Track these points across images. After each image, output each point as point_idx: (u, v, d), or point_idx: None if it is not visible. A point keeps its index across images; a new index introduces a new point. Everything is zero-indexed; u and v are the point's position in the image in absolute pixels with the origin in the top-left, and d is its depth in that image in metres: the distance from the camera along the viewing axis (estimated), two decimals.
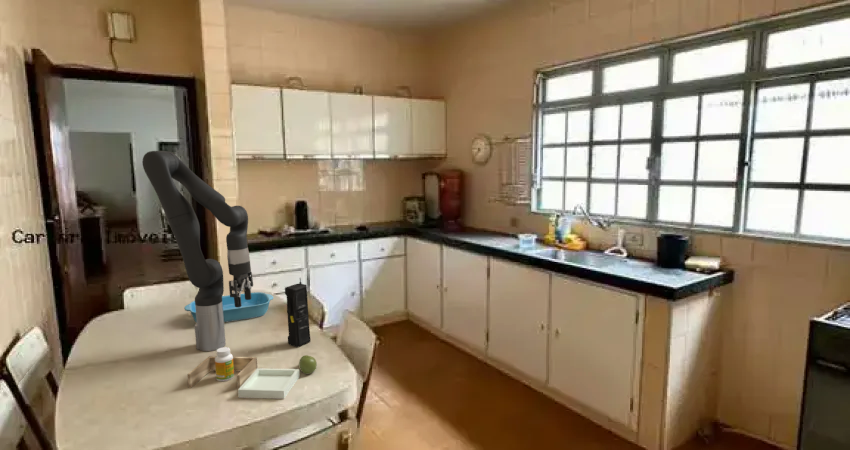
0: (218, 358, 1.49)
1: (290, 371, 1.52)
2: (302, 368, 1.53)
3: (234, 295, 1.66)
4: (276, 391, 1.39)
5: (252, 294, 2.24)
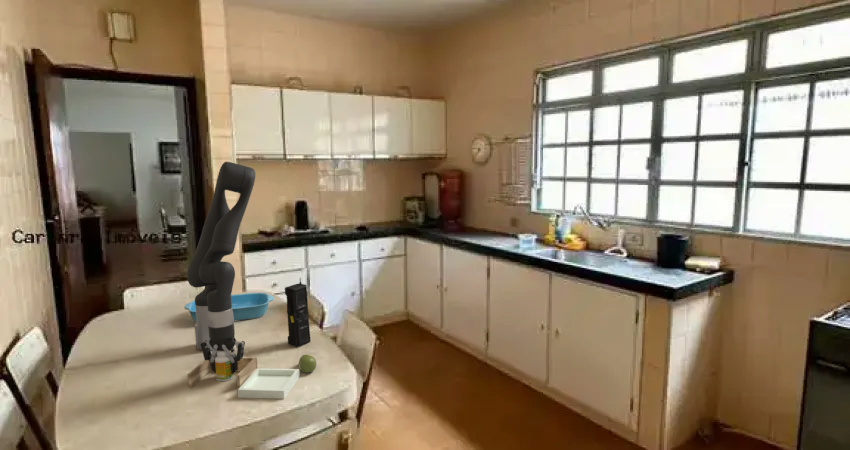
0: (218, 358, 1.49)
1: (290, 371, 1.52)
2: (302, 367, 1.54)
3: (241, 357, 1.51)
4: (276, 391, 1.39)
5: (255, 294, 2.23)
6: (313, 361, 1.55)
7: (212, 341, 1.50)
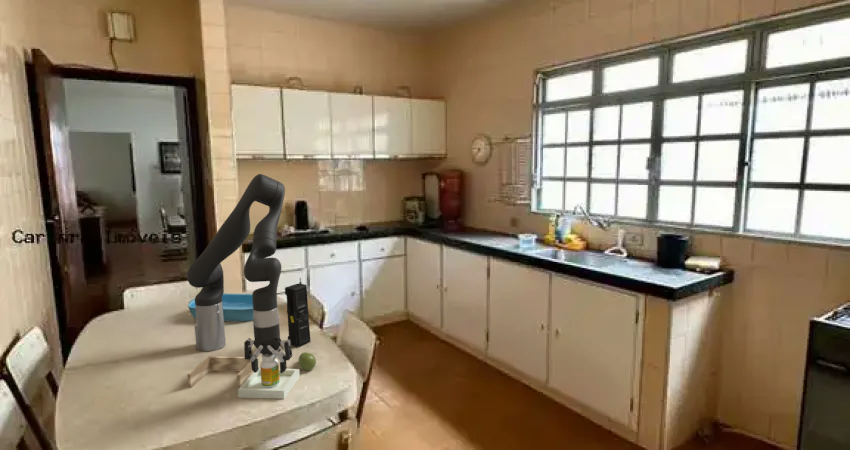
0: (264, 364, 1.43)
1: (290, 371, 1.52)
2: (302, 365, 1.55)
3: (291, 355, 1.45)
4: (276, 391, 1.39)
5: None
6: (313, 359, 1.57)
7: (257, 342, 1.43)
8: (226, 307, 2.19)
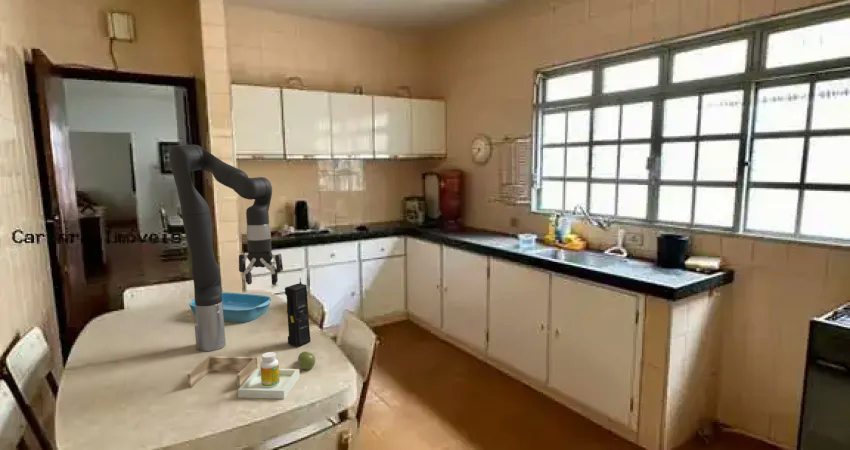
0: (264, 364, 1.43)
1: (290, 371, 1.52)
2: (301, 364, 1.56)
3: (281, 269, 1.59)
4: (276, 391, 1.39)
5: (264, 297, 2.19)
6: (312, 358, 1.57)
7: (251, 255, 1.57)
8: (230, 306, 2.20)
